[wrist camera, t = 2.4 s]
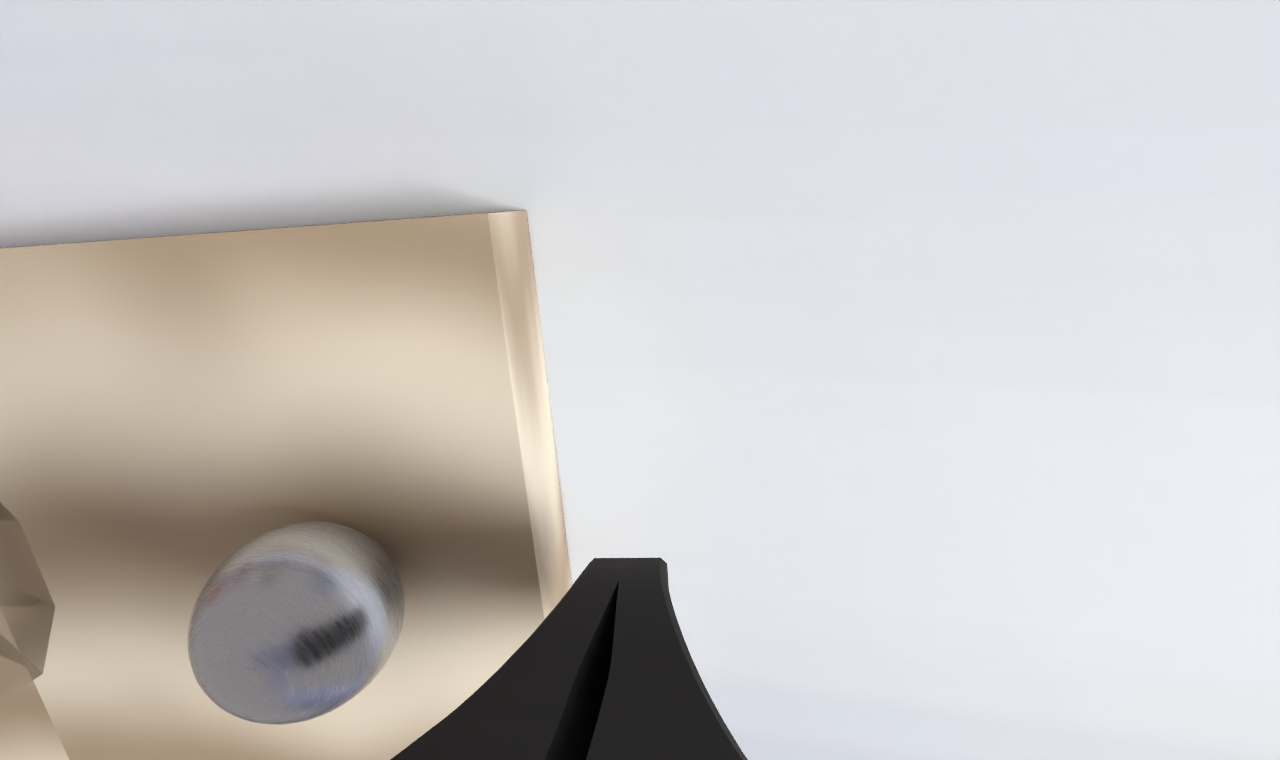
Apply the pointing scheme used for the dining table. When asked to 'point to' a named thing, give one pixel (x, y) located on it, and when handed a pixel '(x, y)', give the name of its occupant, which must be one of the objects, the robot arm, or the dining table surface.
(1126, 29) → the dining table surface
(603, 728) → the robot arm
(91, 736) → the birch plate
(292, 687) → the silver metal ball
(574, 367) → the dining table surface
